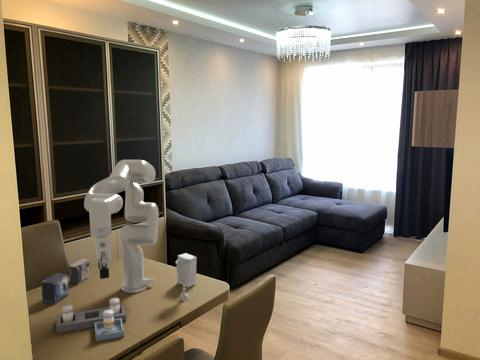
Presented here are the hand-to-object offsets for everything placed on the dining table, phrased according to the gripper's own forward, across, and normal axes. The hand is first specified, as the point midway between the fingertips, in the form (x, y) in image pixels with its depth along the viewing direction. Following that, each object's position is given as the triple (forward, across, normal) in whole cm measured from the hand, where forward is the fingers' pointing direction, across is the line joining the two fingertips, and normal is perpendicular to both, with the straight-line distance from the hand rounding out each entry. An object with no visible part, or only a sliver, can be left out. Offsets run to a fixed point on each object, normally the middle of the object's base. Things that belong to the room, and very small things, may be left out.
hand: (103, 273), depth 155 cm
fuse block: (+24, +7, +5) cm, 25 cm away
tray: (+23, -4, 0) cm, 24 cm away
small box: (+24, +34, +20) cm, 47 cm away
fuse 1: (+23, +7, +14) cm, 28 cm away
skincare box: (+24, +28, -40) cm, 55 cm away
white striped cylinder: (+23, -4, 0) cm, 23 cm away
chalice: (+24, +14, -35) cm, 45 cm away
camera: (+25, +52, +10) cm, 59 cm away
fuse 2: (+24, +7, -4) cm, 25 cm away
